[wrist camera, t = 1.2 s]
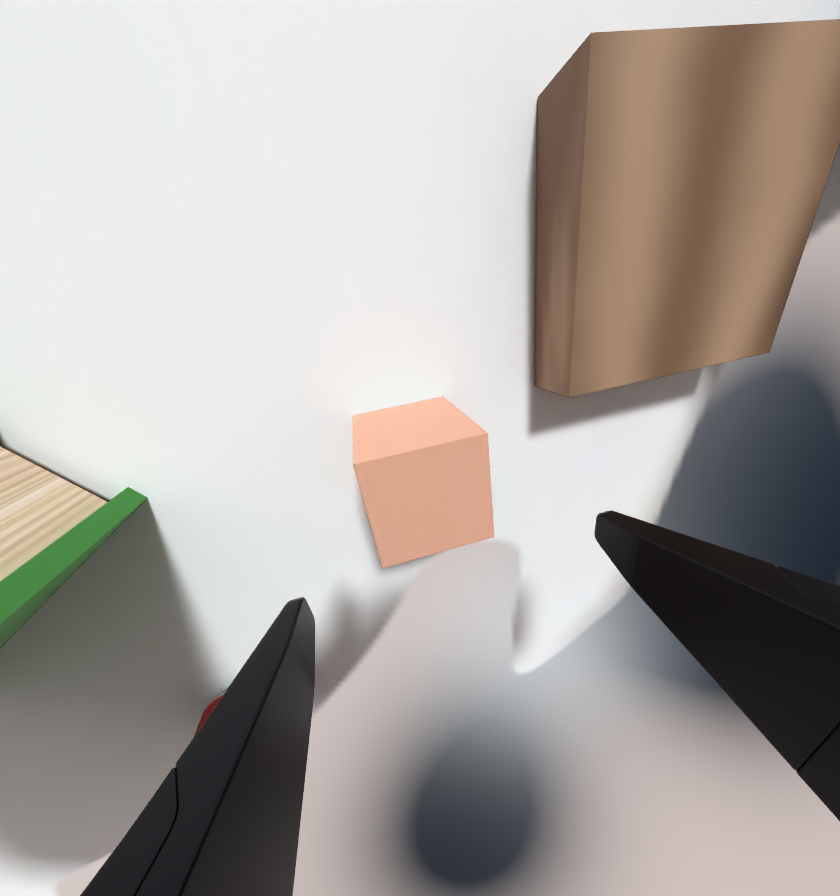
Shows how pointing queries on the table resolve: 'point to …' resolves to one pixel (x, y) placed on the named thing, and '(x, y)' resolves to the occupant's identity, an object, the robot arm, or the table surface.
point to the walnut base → (677, 196)
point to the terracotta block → (423, 479)
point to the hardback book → (47, 534)
